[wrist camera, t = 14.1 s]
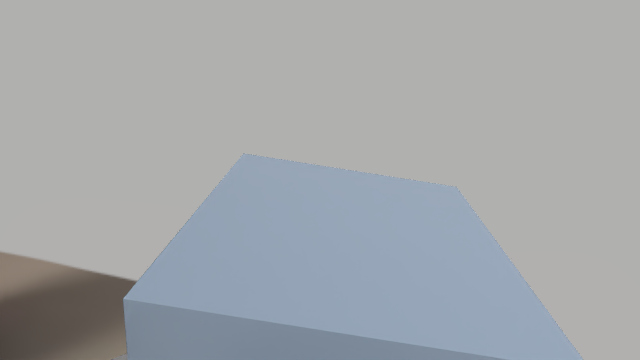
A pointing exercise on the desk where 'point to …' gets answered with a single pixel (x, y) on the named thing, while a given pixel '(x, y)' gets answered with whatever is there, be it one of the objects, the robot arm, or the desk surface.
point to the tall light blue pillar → (335, 276)
